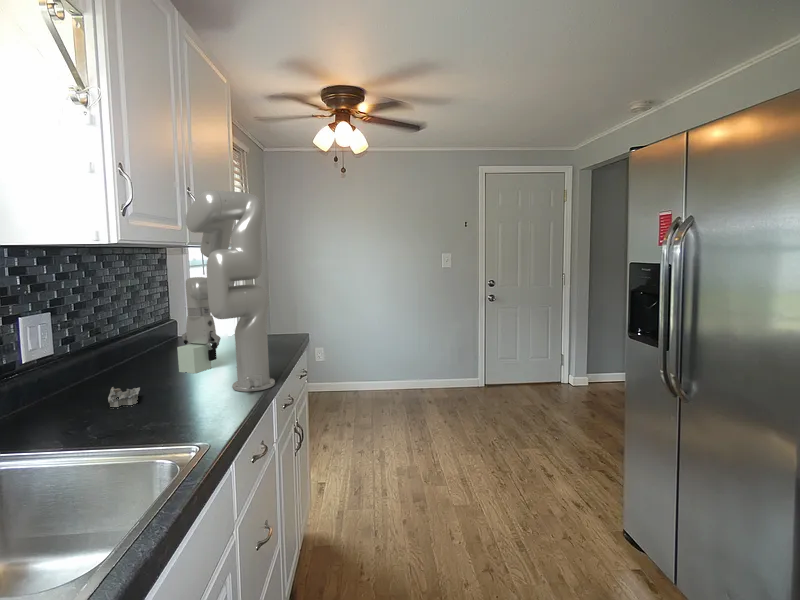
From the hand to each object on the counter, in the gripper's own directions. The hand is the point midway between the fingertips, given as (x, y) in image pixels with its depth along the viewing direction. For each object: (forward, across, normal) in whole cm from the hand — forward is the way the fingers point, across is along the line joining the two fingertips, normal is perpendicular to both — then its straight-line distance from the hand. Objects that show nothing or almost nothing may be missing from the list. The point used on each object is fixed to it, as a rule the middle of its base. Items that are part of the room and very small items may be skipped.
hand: (202, 359), depth 177 cm
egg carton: (+4, -9, +38) cm, 39 cm away
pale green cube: (+3, 0, +3) cm, 5 cm away
